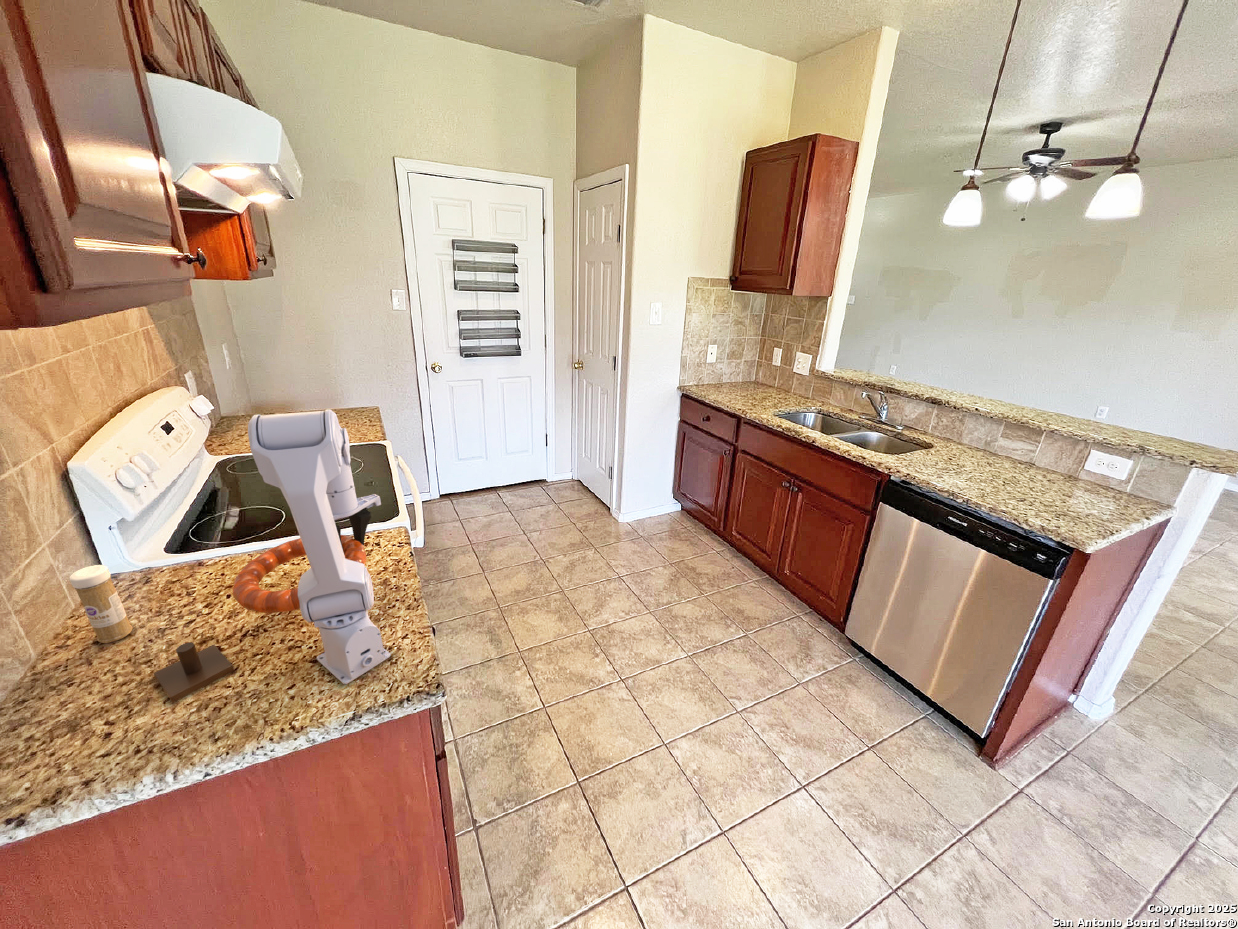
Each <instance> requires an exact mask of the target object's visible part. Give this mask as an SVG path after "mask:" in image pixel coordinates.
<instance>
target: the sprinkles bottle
mask: <svg viewBox="0 0 1238 929" xmlns="http://www.w3.org/2000/svg"><path fill="white" fill-rule="evenodd" d="M68 580H69V582H70V584H71V586H72V588H74V590H75V591H76V593H77V595H78V598H79V600H80V602H81V604H82V606H83V608H84V611H85V615H86V617H87V619H88V622H89V624H90V626H91V627H92V629H93V631H94V633H95V635H96V641H98V642H99V643H101V644H109V643H113V642H117V641H119V640H121V639H123V638H125V637H127V636H129V634H130V633H131V632H133V629H134V628H133V626H132V625H131V622H130V620H129V618H128V616H127V612H126V610H125V608H124V605H123V603H122V601H121V598H120V596H119V593H118V591H117V589H116V587H115V585H114V582H113V581H112V575H111V572H110V570H109V567H108V566H107V565H104V564H95V565H89V566H86V567H83V568H80V569H78V570H76V571H74V572H72V573H71V574H70V575H69V577H68Z"/></svg>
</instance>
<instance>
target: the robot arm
mask: <svg viewBox="0 0 1238 929" xmlns="http://www.w3.org/2000/svg"><path fill="white" fill-rule="evenodd" d="M337 415H338V414H336V412H335V411H333V409H330V408H328V409H327V408H326V409H325V410H315V411H302V412H301V411H300V412H292V413H291V412H287V413H275V414H263V415H261V414H260V413H258V414H253V415H252V417H251V418H250V419H249V421H248V422H247V437H248V442H249V448H250V452H251V455H252V457H253V460H254V463H255V465H256V468H257V470H258V473H259V474H260V475H261V477H262V480H263V483H265V484H268V485H270V486H273V487H276V488H278V489H279V490H280V491H281V493H282V495H283V497H284V499H285V501H286V503H287V506H288V507H289V510H290V513H291V515H292V518H293V522H294V524H295V527H296V529H297V533H298V536H299V538H301V541H302V544H303V547H304V549H305V552H306V555H305V556H306V558H307V561H308V564H309V566H310V568H309V569H307V570H306V571H305V572H304V573H302V574H301V576H300V578H299V580H298V585H297V588H298V598H299V602H300V609H299V610H300V614H301V617H302V619H303V620H304V621H306V623H309V624H310V623H313V625H314V628H315V629H316V628H318V631H319V634H320V635H319V636H320V638H321V643H322V647H323V651H324V652H322V653H321V654H319V655H317V656H316V661H317V662H318V663H320V664H321V665H322V666H323V667H324V668H325V669H326V670H327V671H328V672H329V673H331V675H333V676H334V677H335V678H336V679H337V680H338V681H340V682H341V683H342V684H343V685H348V684H350V683H351V682H353V681H354V680H356V679H357V678H359V677H361V676H362V675H364V674H365V673H367V672H368V671H370V670H372V669H374V668H375V667H376V666H378V665H379V664H382V663H383V662H384V661H386V660H388V659H389V658H391V652H389V651H388V650H387V649H386V648H384V643H383V639H382V633H381V630H380V629H379V628H378V626H377V625H375V624H374V623H373V622H372V620H371V619H370V617H369V612H368V611H369V610H371V609H372V607H373V606H374V604H375V595H374V594H375V593H374V586H373V581H372V580H373V579H372V576H371V574H370V573H369V571H368V568H367V567H366V566H365V565H366V564H365V565H364V564H363V563H359V562H356V561H352V560H348V559H345V556H344V553H343V546H342V542H341V535H342V534H341V532H342V529H341V528H342V527H341V526H339V525H337V523H336V521H337V520H340V519H344V518H348V520H349V522H350V526H351V529H352V535H353V539H355V540H357V541H359V542H360V543H361V544H362V545H363V546H364V547H365V540H366V539H365V538H366V533H367V529H368V526H369V523H370V521H371V519H372V513H371V511H369V510H368V509H369V508H372V507H379V506H381V505H382V502H381V496H380V495H378V494H375V493H372V494H370V495H365V496H361V497H357V494H356V486H355V483H354V477H353V472H352V467H351V461H352V459H351V453H350V452H351V451H350V447H351V446H350V445H351V444H350V438H349V433H348V430H347V428H346V427H344V428H343V427H341V425H340V422H339V419H338V416H337Z"/></svg>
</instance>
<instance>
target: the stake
mask: <svg viewBox="0 0 1238 929" xmlns="http://www.w3.org/2000/svg"><path fill="white" fill-rule="evenodd" d="M175 652H176V654H177V657H178V659H179V660H178V661H176V662H174V663H172V664H170V665H168V666H165V667H163V668H161V669H159V670H157V671H156V672H155V671H154V672H153V675H154V678H155V680H156V681H157V682H158V684H159V685H160V687H161V688H162V690H163V691H164V693H165V694H166V696H167V698H168V699H169V700H170V702H171V703H173V704H174V703H175V702H177V701H180V700H181V699H183V698H186V697H187V696H190V695H191V694H194V693H195V692H197V691H199V690H201V689H202V688H204V687H206V686H208V685H210V684H212V683H214V682H216V681H219V679H221V678H224V677H225V676H227V675H229V674H231V673H234V672H235V668H234V666H233V664H232V663H231V662H230V661H229V660H228V659H227V657H226V656H225V655H224V654H223V653H222V651H221V650H220V649H219V648H218V647H217V646H216V645H215V644H211V645H210V646H208V647H205V648H204V649H201V650H199V651H197V649H196V645H195V643H194V642H193V641H191V642H189V641H188V642H185V643H183V644H180V645H179V646H177V647H176V649H175Z"/></svg>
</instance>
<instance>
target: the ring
mask: <svg viewBox="0 0 1238 929" xmlns="http://www.w3.org/2000/svg"><path fill="white" fill-rule="evenodd" d="M341 542H342V546H343V553H344V556H345V559H348V560H352V561H356V562H359V563H363V564H364V565H366V563H367V558H368V557H367V554H366V550H365V545H364V546H363V545H362V544H361V543H360V542H359V541H357V540H355V539H354V537H352V536H350V535H346V534H341ZM305 556H307V555H306V552H305V549H304V547H303V544H302V541H301V538H300V537H299V538H296V539H292V540H288V541H286V542H283V543H280V544H279V545H276V546H274V547H272V548H270V549H267V550H265V551H264V552H262V553H261V554H259V555H258V556H256V557H255V558H254V559H252V560H251V561H249V562H247V563H246V565H245V566H244V567H243V568H242V569H241V570H240V572H238V574H237V575H236V576H235V578H234V581H233V588H232V597H233V599H234V600H235V601H236V602H237V603H238V604H239V605H240V606H241V607H243V608H244V609H246V611H251V612H259V613H263V614H276V613H277V614H279V613H285V612H294V611H298V610H300V602H299V598H298V587H295V588H291V589H283V590H267V589H262V588H261V587H260V583H261V581H263V579H264V578H265V576H266V575H268V574H269V573H270V572H272V571H273V570H274V569H276V568H278V567H280V566H282V565H283V564H286V563H288V562H290V561H292V560H294V559H298V558H301V557H305Z"/></svg>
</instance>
